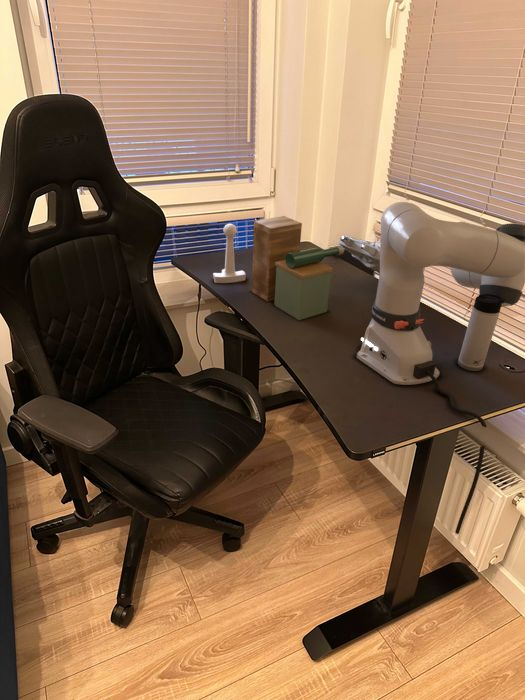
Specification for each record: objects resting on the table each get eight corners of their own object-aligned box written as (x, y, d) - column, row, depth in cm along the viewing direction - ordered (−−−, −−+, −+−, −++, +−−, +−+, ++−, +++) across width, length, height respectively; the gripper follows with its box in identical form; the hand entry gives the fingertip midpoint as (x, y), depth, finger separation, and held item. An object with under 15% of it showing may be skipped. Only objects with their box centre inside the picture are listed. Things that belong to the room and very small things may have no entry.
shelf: (296, 293, 169) (302, 223, 157) (267, 301, 163) (271, 228, 151) (280, 284, 175) (284, 216, 163) (251, 291, 169) (253, 220, 157)
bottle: (295, 269, 148) (294, 254, 146) (285, 267, 151) (285, 252, 149) (345, 257, 158) (346, 243, 157) (336, 255, 162) (336, 242, 160)
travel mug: (479, 374, 130) (501, 304, 119) (454, 366, 133) (473, 296, 123) (486, 365, 134) (508, 296, 124) (462, 356, 137) (481, 288, 127)
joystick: (215, 283, 174) (215, 226, 164) (210, 275, 180) (210, 220, 170) (246, 281, 177) (248, 224, 167) (240, 273, 183) (241, 218, 173)
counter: (328, 311, 158) (333, 268, 151) (298, 320, 152) (302, 275, 145) (301, 297, 167) (305, 255, 160) (272, 305, 161) (275, 261, 154)
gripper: (394, 274, 163) (371, 261, 154) (350, 255, 178) (326, 242, 168) (404, 257, 162) (381, 242, 153) (358, 239, 176) (335, 224, 167)
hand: (352, 241), depth 160 cm, fingers open, 8 cm apart
